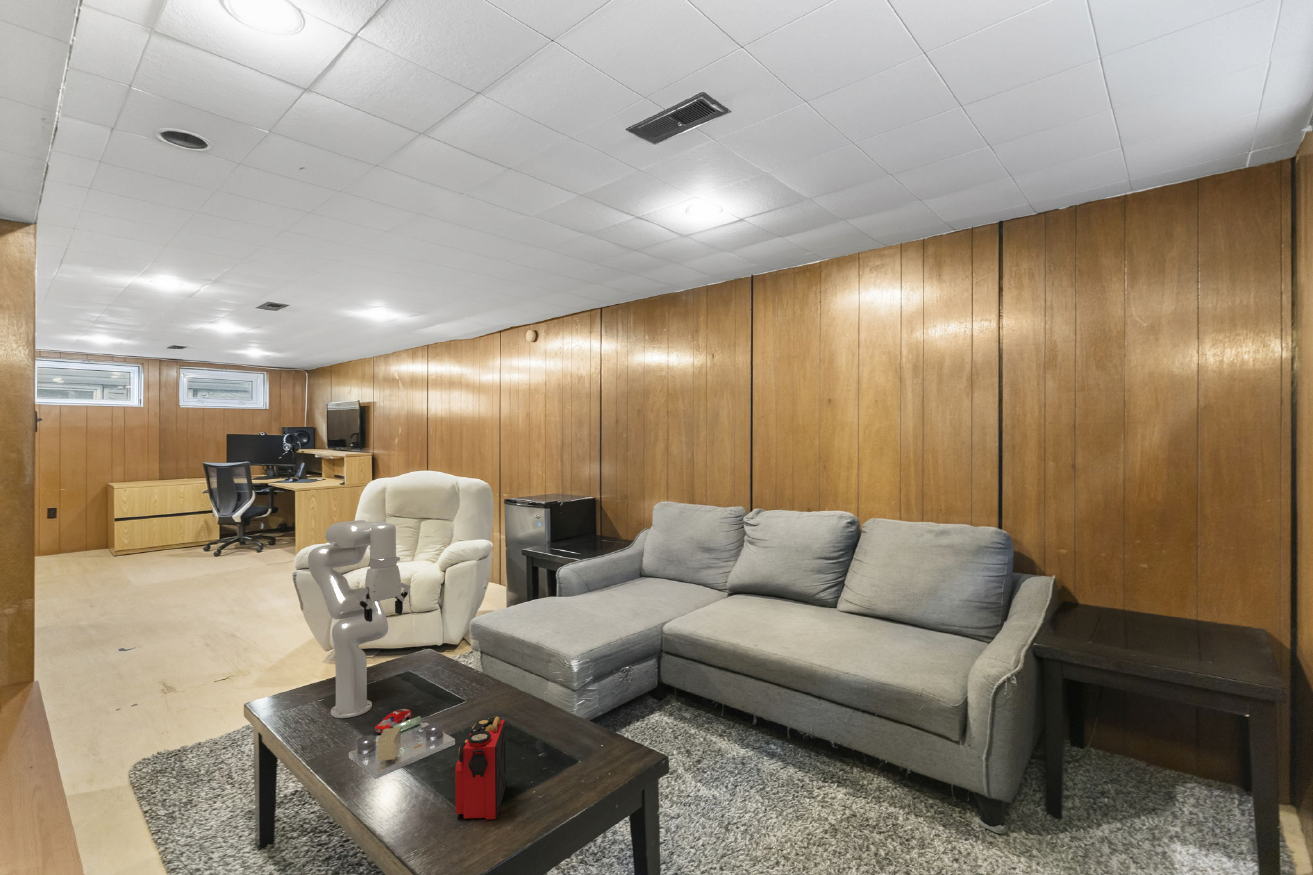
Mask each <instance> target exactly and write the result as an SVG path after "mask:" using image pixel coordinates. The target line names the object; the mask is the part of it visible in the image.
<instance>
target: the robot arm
mask: <svg viewBox="0 0 1313 875" xmlns="http://www.w3.org/2000/svg"><path fill="white" fill-rule="evenodd" d="M324 535H325V540H326V541H327V543H328V544H325V545H320V546H318V547H317V546H316V548H313V549H312V550H311V551H310V552H309V553H308V556H307V565H308V569H309V572H310V575H311V576H312V578H313V580H314V581H315V583H316V584H317V585H318V586H319V588H320V590H321V592H322V595H323V599H324V601H325V604H326V606H327V610H328V613H329V615H330V616H331V618H332V619H333V620H339V621H337V622H336V623H335V624H334V625H333V626H332V629H331V638H332V643H333V647H334V656H335V657H334V658H335V660H334V661H335V705H334V706H333V707H331V709H330V716H331V717H332V718H337V719H347V718H354V717H357V716H360V715H363V714H365V713H367V712H368V711H370V710H371V709H372V706H373V702H372V701H371V700H368V694H367V693H368V692H367V691H368V689H367V688H368V685H367V684H368V682H367V681H368V680H367V679H368V678H367V677H368V674H367V673H368V672H367V671H368V670H367V665H368V664H367V655H366V653H365V651H364V650H363V649H362V648H360V645H362V644H366V643H370V642H373V641H378V640H380V639H384V637H385V636H386V635H387V634H388V631H389V623H388V622H389V621H388V620H387V617H386V614H385V611H384V609H383V606H382V604H381V601H386V600H389V599H393V598H395V599H396V600H395V601H394V613H395V614H397V615H403V610H404V608H403V607H404V605H403V604H404V601H405V598H407V596H408V595H409V594H408V593H409V592H410V589H411V585H409V584H406V583H403V582H401V581H402V580H401V573H400V569H399V565H397V564H398V562H400V561H401V558H400V556H397V529H396V525H395V524H393V523H389V522H387V521H384V520H375V521H366V520H363V519H361V520H359V519H358V520H350V521H348V520H347V521H340V522H335V523H333V524H331V525H329V526H328V528H327V529H326V530H325V534H324ZM368 547H369V558H370V559H369V564H370V565H369V567H370V568H367V570H366V573H365V574H366V575H365V581H364V587H359V588H358V587H357V588H351V587H350V584H349V582H348V580H347V577H345V576H344V575H343V574H341V573H340V572H338V571H336V570H335V568H340V567H341V568H342V567H348V566H355V565H357V564H359V563H361V562H362V560H363V559H364V557H365V554H366V552H367V550H368ZM402 589H403V591H402Z"/></svg>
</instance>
